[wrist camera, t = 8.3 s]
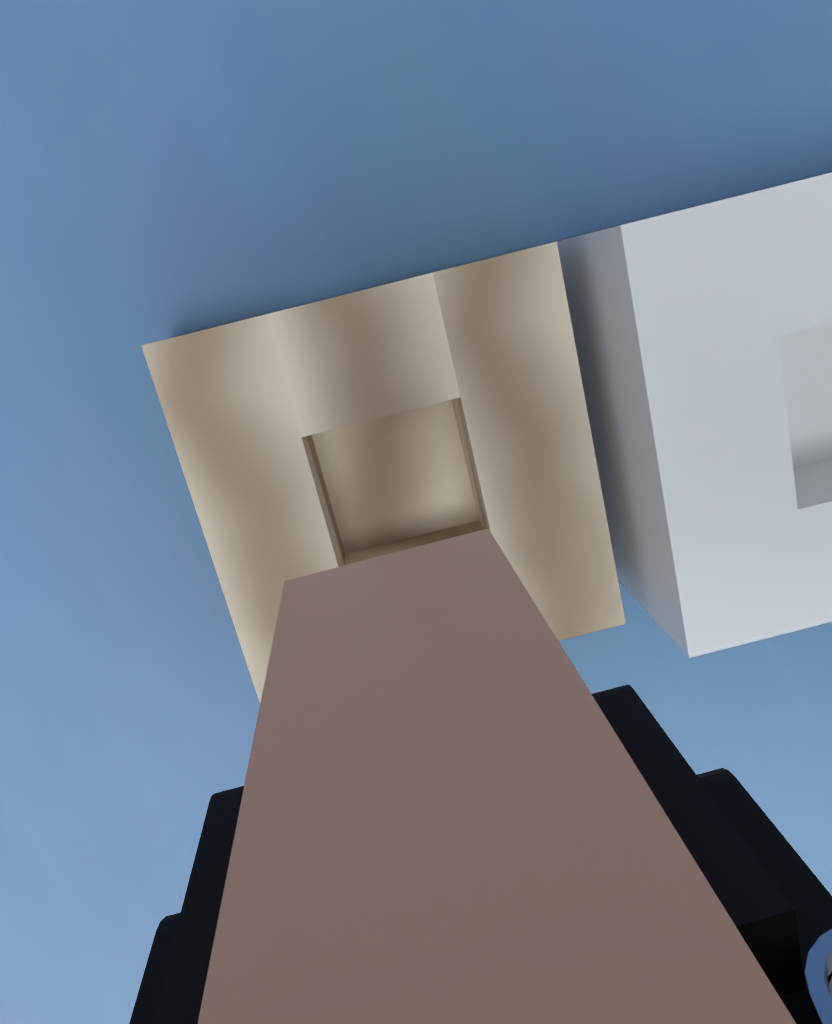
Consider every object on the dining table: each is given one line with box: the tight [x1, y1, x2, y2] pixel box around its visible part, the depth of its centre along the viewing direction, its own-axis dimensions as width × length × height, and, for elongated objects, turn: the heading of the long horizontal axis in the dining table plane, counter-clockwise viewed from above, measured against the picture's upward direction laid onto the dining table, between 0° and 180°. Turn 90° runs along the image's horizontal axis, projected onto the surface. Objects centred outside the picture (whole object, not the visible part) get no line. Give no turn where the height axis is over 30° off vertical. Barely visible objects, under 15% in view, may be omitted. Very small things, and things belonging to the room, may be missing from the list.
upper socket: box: [557, 172, 832, 658], centre depth 29 cm, size 14×14×8 cm
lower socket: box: [141, 241, 626, 703], centre depth 30 cm, size 14×14×4 cm
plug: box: [198, 529, 796, 1024], centre depth 10 cm, size 4×4×12 cm
